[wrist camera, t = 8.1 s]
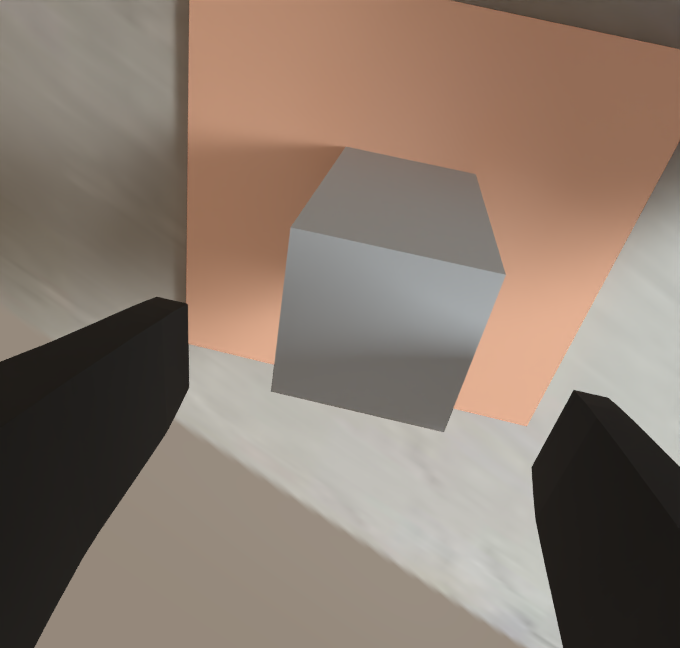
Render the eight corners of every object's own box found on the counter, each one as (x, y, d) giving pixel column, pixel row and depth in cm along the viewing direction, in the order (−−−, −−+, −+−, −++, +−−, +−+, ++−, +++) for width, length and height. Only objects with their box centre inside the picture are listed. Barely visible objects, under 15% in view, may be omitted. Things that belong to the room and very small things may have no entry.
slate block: (475, 174, 15) (505, 275, 9) (439, 289, 17) (444, 432, 11) (345, 146, 15) (290, 227, 9) (326, 264, 17) (270, 391, 11)
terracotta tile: (708, 56, 13) (723, 58, 12) (523, 412, 20) (526, 426, 19) (201, -52, 14) (190, -56, 13) (193, 332, 21) (185, 343, 20)
